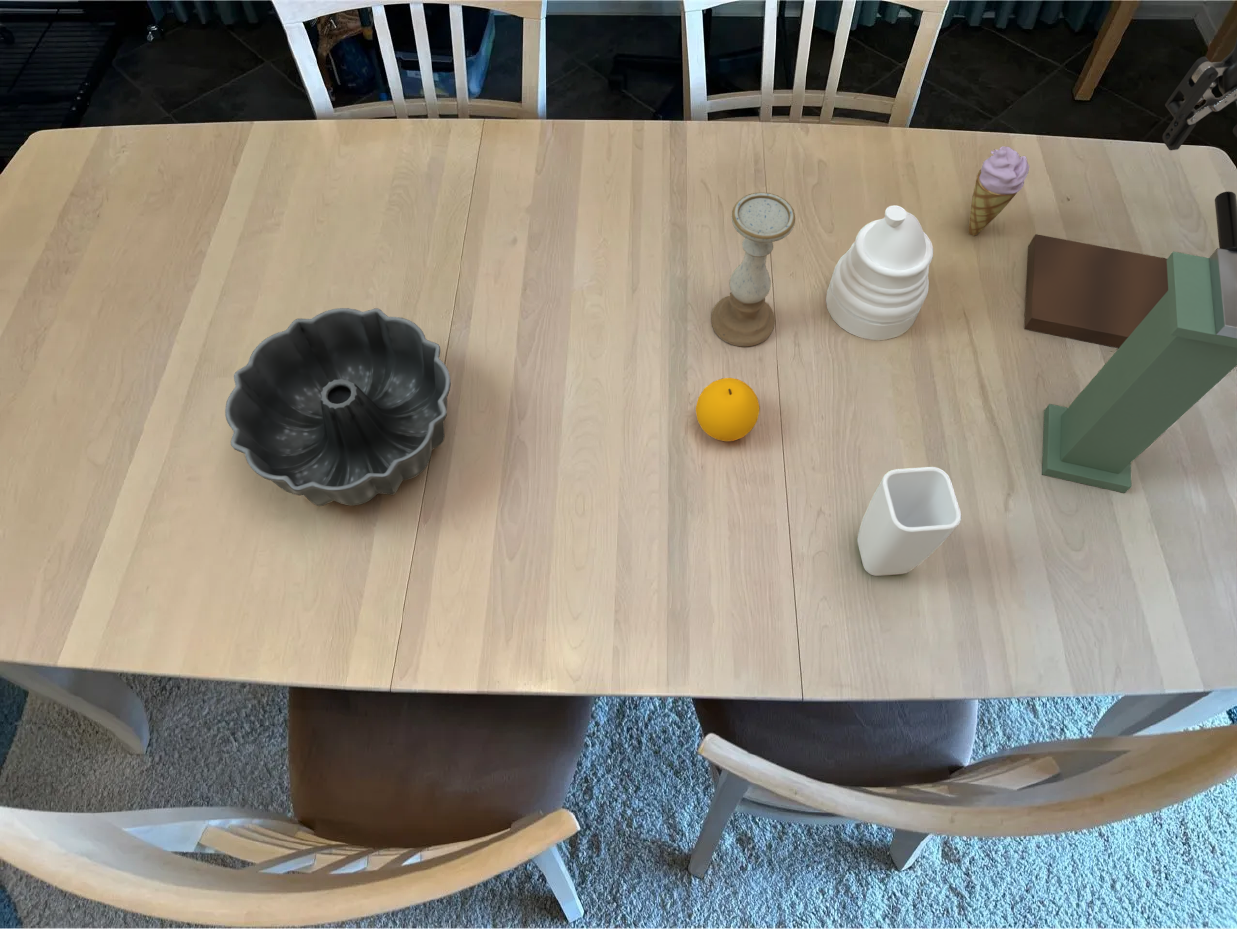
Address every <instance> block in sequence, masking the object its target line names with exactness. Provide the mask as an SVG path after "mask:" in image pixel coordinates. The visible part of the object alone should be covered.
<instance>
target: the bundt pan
mask: <svg viewBox="0 0 1237 929" xmlns="http://www.w3.org/2000/svg"><path fill="white" fill-rule="evenodd" d="M440 357H441V346H440V344H439V343H437V342H435V341H431V340H428V339H427V338H426V335H425V332H424V331H423V330H422V328H421V327H419V325H418V324H416V323H415V322H413V321H411V320H410V319H407V318H404V317H400V316H388V315H387V314H386V313H385V312H384V311H382V310H381V309H380V308H379V307H375V308H371V309H369V310H365V311H361V310H358V309H355V308H350V307H339V308H338V307H337V308H332V309H328V310H325V311H322V312H320V313H318V314H316V315H315V316H313V317H312V318H296V319H294V320H293V321H292V322H291V323H290V324H289V326H288V327H287V329H285V330H282V331H278V332H275V333H273V334H272V335H269V336H268V337H266V338H265V339H264V340H262V341H261V342H259V344H257V346H256V347H255V348H254V349H253V351H252V352H251V355H250V356H249V359H248V362H247V364H246V365H244V366H243V367H241V368H239V369H238V370H236V371H235V372H234V374H233V380H234V385H235V387H234V388H232V391H231V392H230V394H229V396H228V398H227V400H226V403H225V408H224V416H225V419H226V422H227V424H228V426H229V427H230V429H231V430H232V431H233V433H232V436H231V440H230V446H231V447H232V448H233V449H234V451H237V452H240V453H242V454H244V457H245V460H246V463H247V464H248V465H249V467H250V468H251V469H252V471H253V472H254V473H255V474H257V475H258V476H260V477H261V478H263V479H265V480H267V481H271V482H272V483H273V484H275V485H276V486H277V487H279V488H280V489H281V490H282V491H285V492H286V493H289V494H292V495H296V496H304V497H305V498H306V499H307V500H308V501H310V502H311V503H312V504H313V505H315V506H318V507H322V506H325V505H327V504H330V503H331V502H336V503H338V504H340V505H341V504H342V505H346V506H359V505H363V504H365V503H368V502H369V501H371V500H372V499H374V498H375V497H376V496H377V495H378V494H382V495H383V494H384V495H391V496H392V495H395V494H396V493H397V491H398V490H399V487H400V486H401V485H402V482H403V481H406V480H411V479H414V478H415V477H417V476H419V475H420V474H422V473H423V471H424V470H425V469H426V468H427V467H428V465H429V462H430V460H431V456H432V452H433V450H435V449H436V448H438V447H439V446H441V445H442V444H443V442H444V441H445V420H446V418H447V416H448V396H449V393H450V390H451V384H452V383H451V382H452V381H451V375H450V371H449V369H448V367H447V366H446V364H445V363H444V362H443V361H442V360H441V359H440Z"/></svg>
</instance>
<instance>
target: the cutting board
mask: <svg viewBox="0 0 1237 929" xmlns="http://www.w3.org/2000/svg"><path fill="white" fill-rule="evenodd" d="M1026 263H1027V264H1026V284H1025V302H1024V303H1025V306H1024V326H1023V328H1024V330H1027V331H1032V332H1036V333H1042V334H1047V335H1052V336H1057V337H1063V338H1067V339H1071V340H1076V341H1080V342H1081V341H1082V342H1086V343H1091V344H1096V345H1101V346H1106V347H1112V348H1115V349H1119V347H1120V346H1121V345H1122V344H1123V343H1124V342H1125V340H1126V339H1127V338H1128V337H1129V336H1130V335H1131V333H1132V332H1133V331H1134V330H1135V329H1136V327H1137V326H1138V325H1139V324H1140V323H1141V322H1142V320H1143V319H1144V318H1145V317H1146V316H1147V315H1148V313H1149V312H1150V311H1151V310H1152V309H1153V308H1154V306H1155V305H1156V304H1157V303H1158V302H1159V301H1160V299H1161V298H1162V297H1163V296H1164V295H1165V294H1166V292H1167V291H1168V275H1167V258H1166V257H1160V256H1155V255H1151V254H1146V253H1145V254H1144V253H1139V252H1134V251H1129V250H1123V249H1118V248H1112V247H1108V246H1102V245H1096V244H1091V243H1085V242H1080V241H1075V240H1070V239H1063V238H1060V237H1053V236H1048V235H1043V234H1038V233H1035V234H1034V235H1033V237H1032V239H1031V241H1030V242H1029V243H1028V246H1027V262H1026Z"/></svg>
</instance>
